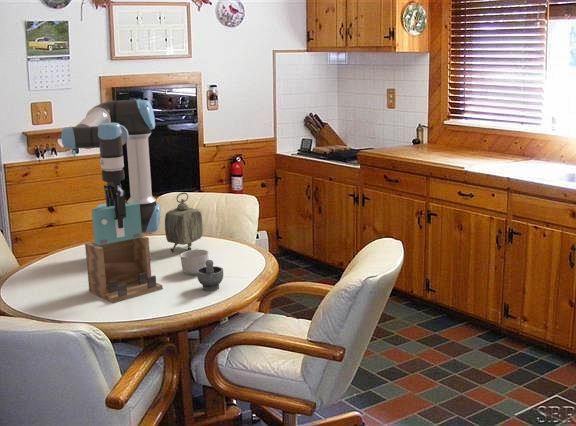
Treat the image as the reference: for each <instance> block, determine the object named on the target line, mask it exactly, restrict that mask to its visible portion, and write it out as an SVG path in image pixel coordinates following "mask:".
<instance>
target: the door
mask: <svg viewBox="0 0 576 426" xmlns="http://www.w3.org/2000/svg"><path fill="white" fill-rule="evenodd" d="M125 207H126V217H125V218H123V221H124V233H125V236H124V237H119V238H117V237H116V225H115V220H114V218H116V214H115V207H114V206H108V207H102V208H96V207H95V208H96V209H95V208H91V209H90V210H91V219H92V230H93V231H92V232H93V240H94V241H93V242H95V244H97V245H103V244H109V243H114V242H119V241H125V240H130V239H135V238H141V237H142V236H143V233H142V229H141V216H140V204H139V203H136V202H134V203H125Z"/></svg>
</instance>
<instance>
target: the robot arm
mask: <svg viewBox="0 0 576 426" xmlns="http://www.w3.org/2000/svg"><path fill="white" fill-rule="evenodd" d="M85 115H86V116H85V117H84V118H83V119H82V120H81V121H80V122H79V123H78V124H76V125H75V126H68V127H67V126H65V127H64V128H62V130H61V135H60V136H61V144H62V146H63V148H64V149H69V150H70V149H73V150H75V149H98V148H99V155H100V160H99V163H100V166H101V167H100V168H101V169H102V170H101V171H100V172H101V180H102V181H103V182H105V183H106V185H105V184H104V185H103V190H104V195H105V202H104V203H101V204H98V205H97V206H95V208H94V209H96V208H102V207H108V206H114V207H115V214H116V218H114V220H115V225H116V237H117V238H119V237H124V236H125V233H124V221H123V218H125V217H126V207H125V204H127V203H134V202H136V203H139V204H140V216H141V229H142V234H143V233H144V234H148V233H150V234H151V233H155V232H157V231H158V230H159V227H160V222H161V213H162V212H161V209H162V208H161V204H160V203H157V199H156V198H155V197H154V196H153V194H152V193H153V192H152V176H151V163H150V162H151V160H150V147H149V138H150V136H151V134H152V130H154V129H155V127H156V122H155V121H156V119H155V114H154V109H153V107H152V103H151V102H150V101H149V100H145V99H127V100H126V99H123V100H109V101H103V102H102V103H99V104H97V105H95V106H93V107H92V108H91V109H89V110H88V111H87V112H86V114H85ZM124 145H126V151H127V152H126V153H127V162H128V163H127V164H128V178H129V179H128V180H129V193H130V197H129V198H128V200H127V201H126V190H125V189H123V187H122V184H121V182H122V181H125V178H126V177H125V169H124V167H125V164H124V154H123V153H124V152H123V146H124ZM126 202H127V203H126Z"/></svg>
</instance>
